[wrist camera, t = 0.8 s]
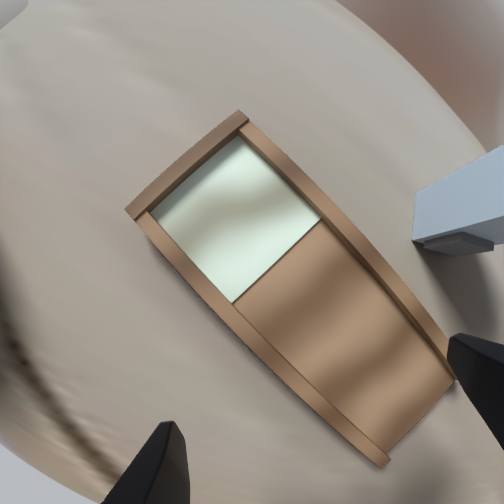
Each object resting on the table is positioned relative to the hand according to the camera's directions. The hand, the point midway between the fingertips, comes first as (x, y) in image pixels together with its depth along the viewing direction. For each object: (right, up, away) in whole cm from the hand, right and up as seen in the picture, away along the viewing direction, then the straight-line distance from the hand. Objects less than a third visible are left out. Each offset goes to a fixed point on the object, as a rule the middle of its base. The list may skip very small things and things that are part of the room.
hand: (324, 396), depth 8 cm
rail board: (+2, +1, +14) cm, 14 cm away
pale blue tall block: (+13, +7, +15) cm, 21 cm away
